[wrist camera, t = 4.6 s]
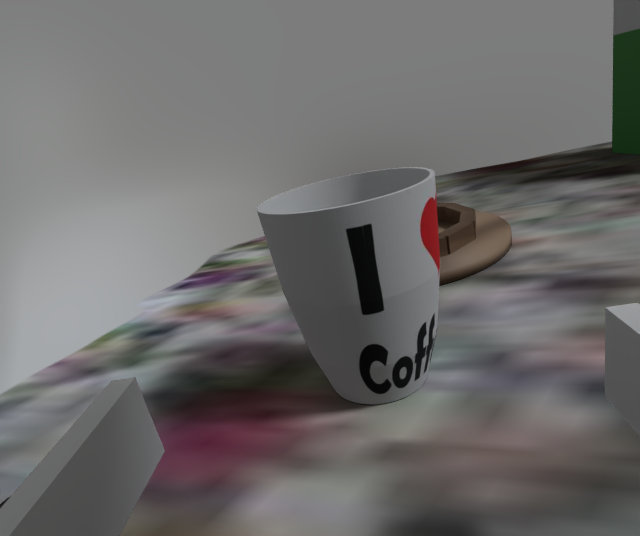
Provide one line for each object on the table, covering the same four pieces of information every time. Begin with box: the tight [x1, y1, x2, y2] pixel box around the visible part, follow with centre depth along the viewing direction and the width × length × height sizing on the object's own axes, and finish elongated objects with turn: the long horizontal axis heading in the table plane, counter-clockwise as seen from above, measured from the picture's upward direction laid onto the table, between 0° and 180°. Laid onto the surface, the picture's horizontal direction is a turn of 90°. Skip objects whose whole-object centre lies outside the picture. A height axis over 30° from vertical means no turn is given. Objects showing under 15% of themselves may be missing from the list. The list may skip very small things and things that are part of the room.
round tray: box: [437, 203, 512, 285], centre depth 41 cm, size 20×20×2 cm
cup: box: [256, 167, 440, 404], centre depth 22 cm, size 8×8×10 cm
